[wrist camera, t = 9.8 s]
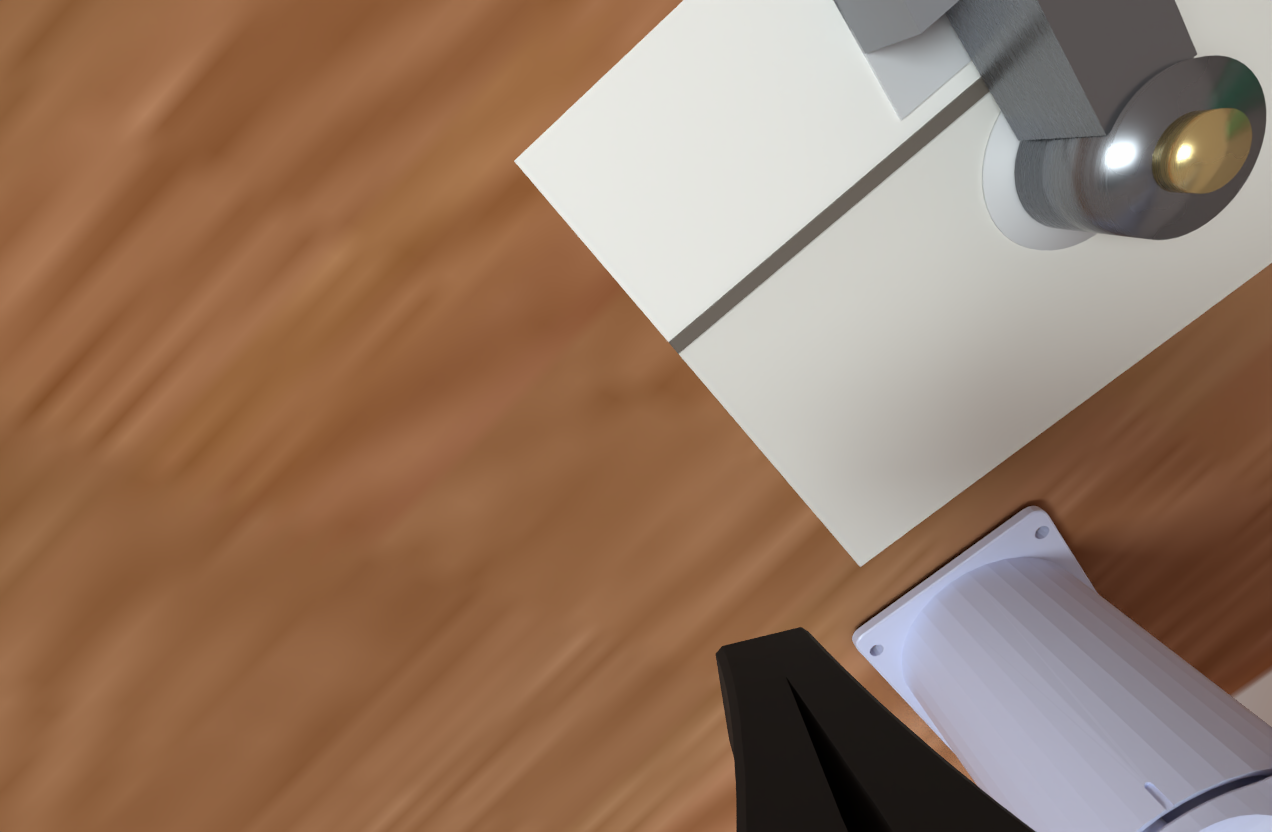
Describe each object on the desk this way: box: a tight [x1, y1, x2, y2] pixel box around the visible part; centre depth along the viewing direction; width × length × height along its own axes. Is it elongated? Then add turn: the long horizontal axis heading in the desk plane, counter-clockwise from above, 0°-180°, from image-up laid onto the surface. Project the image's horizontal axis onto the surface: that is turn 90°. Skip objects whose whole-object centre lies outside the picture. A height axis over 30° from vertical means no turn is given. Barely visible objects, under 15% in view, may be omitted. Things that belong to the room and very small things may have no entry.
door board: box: [515, 0, 1272, 567], centre depth 15 cm, size 16×24×3 cm, turn 130°
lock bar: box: [945, 0, 1266, 240], centre depth 13 cm, size 11×4×3 cm, turn 44°
